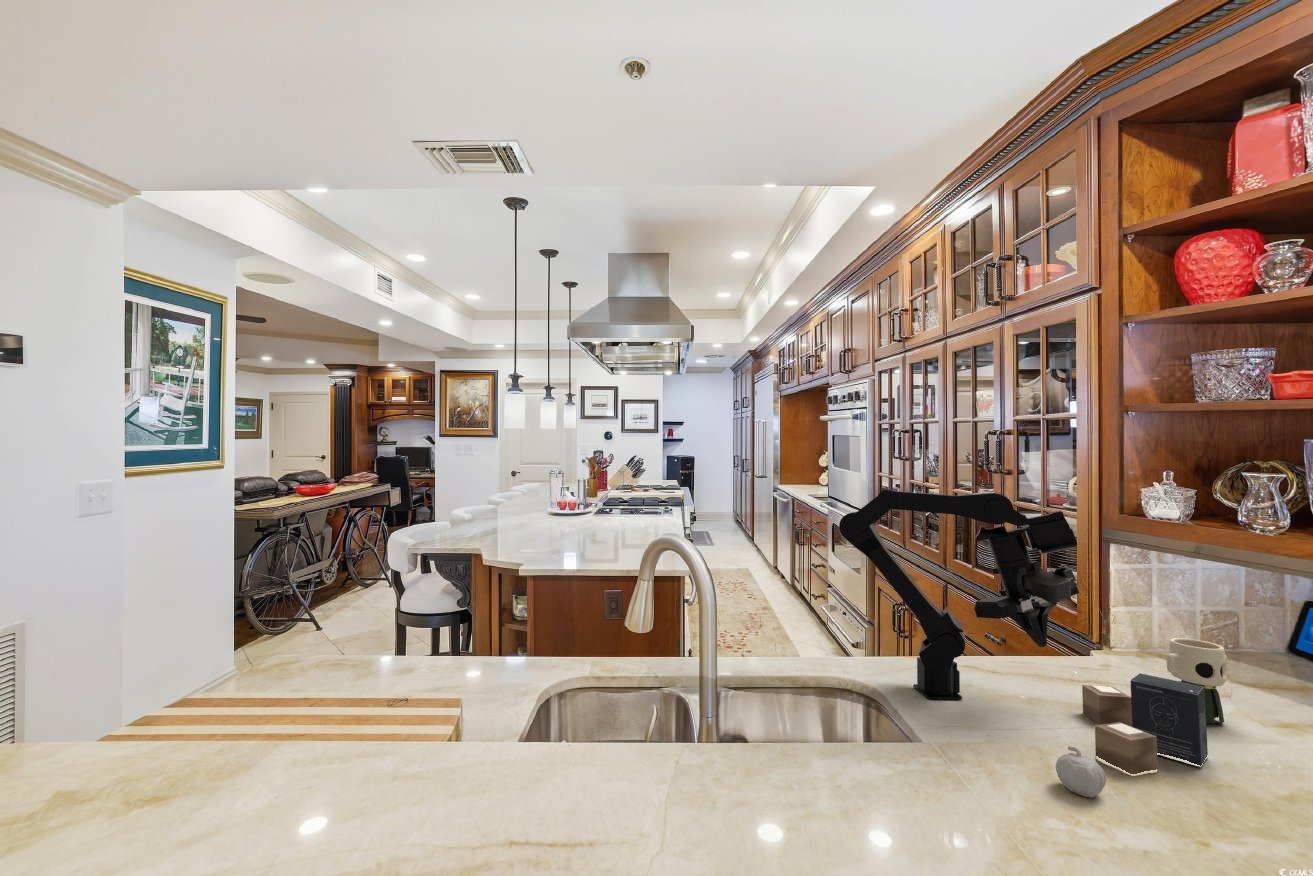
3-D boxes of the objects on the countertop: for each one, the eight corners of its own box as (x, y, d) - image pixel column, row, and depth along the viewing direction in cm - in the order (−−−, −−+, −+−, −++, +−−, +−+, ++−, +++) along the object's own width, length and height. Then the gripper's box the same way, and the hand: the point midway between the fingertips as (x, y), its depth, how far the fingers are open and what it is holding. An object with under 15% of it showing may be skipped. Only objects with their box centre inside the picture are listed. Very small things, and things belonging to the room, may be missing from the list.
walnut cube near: (1131, 777, 80) (1130, 738, 81) (1095, 760, 85) (1094, 723, 86) (1157, 773, 82) (1156, 734, 82) (1120, 756, 87) (1119, 720, 87)
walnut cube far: (1099, 725, 98) (1098, 693, 98) (1082, 713, 103) (1082, 683, 103) (1132, 728, 97) (1131, 695, 97) (1114, 716, 102) (1113, 685, 102)
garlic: (1049, 776, 80) (1048, 737, 81) (1095, 784, 78) (1094, 744, 79) (1063, 799, 75) (1062, 757, 75) (1113, 807, 73) (1112, 765, 73)
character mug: (1190, 728, 97) (1187, 649, 98) (1151, 711, 104) (1148, 637, 105) (1250, 728, 98) (1247, 649, 98) (1207, 710, 105) (1204, 637, 106)
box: (1208, 758, 86) (1205, 686, 87) (1201, 770, 83) (1198, 694, 84) (1141, 739, 93) (1138, 671, 93) (1132, 749, 89) (1129, 678, 90)
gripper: (1008, 569, 96) (1042, 666, 93) (1090, 545, 101) (1125, 636, 98) (959, 571, 107) (988, 659, 104) (1036, 549, 112) (1065, 631, 109)
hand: (1042, 646), depth 103 cm, fingers closed
